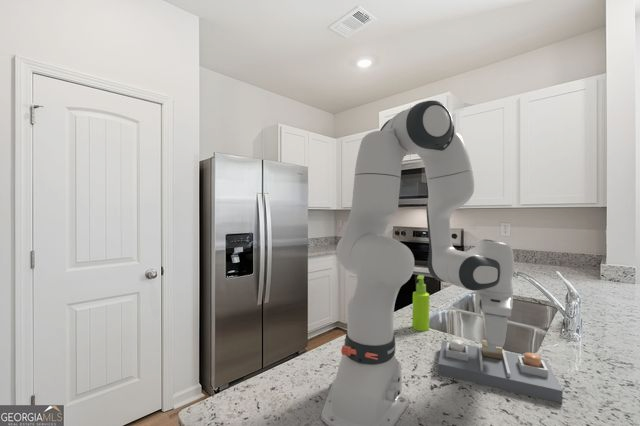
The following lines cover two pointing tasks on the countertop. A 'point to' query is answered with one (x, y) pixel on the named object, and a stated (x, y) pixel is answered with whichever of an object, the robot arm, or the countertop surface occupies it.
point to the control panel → (499, 372)
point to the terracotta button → (532, 360)
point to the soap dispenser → (420, 306)
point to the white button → (457, 345)
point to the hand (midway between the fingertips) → (491, 349)
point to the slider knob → (488, 353)
